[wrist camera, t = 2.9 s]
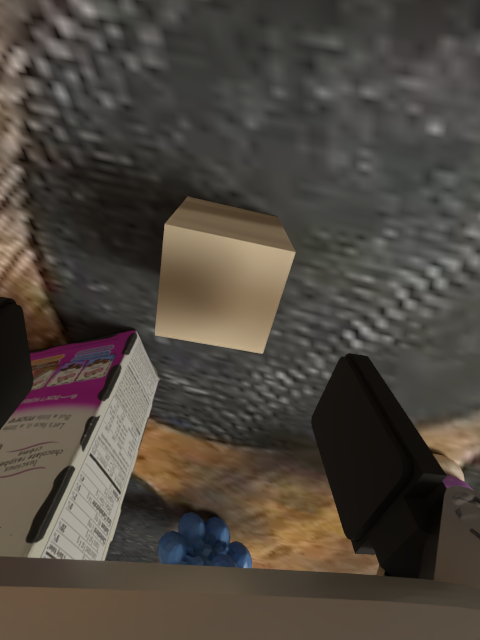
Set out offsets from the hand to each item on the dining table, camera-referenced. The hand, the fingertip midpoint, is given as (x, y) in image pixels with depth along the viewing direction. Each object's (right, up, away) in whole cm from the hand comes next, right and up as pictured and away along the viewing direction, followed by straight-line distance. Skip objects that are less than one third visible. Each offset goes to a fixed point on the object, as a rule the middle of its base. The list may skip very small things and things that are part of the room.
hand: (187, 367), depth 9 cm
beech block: (+1, +6, +9) cm, 10 cm away
